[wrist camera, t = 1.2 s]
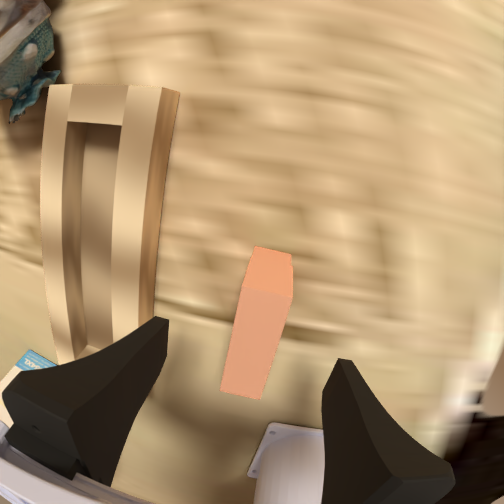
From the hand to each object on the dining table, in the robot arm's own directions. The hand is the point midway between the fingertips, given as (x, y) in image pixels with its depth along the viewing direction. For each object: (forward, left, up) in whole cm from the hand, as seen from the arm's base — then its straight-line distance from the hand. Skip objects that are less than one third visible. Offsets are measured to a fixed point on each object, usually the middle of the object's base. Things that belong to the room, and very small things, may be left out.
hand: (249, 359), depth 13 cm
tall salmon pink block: (0, 0, -6) cm, 6 cm away
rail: (0, +10, -6) cm, 12 cm away
